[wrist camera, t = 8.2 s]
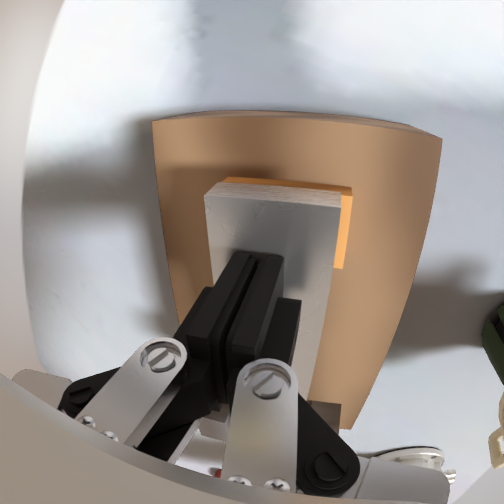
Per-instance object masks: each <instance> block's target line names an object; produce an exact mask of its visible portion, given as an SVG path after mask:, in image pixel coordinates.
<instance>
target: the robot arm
mask: <svg viewBox="0 0 504 504" xmlns="http://www.w3.org/2000/svg"><path fill="white" fill-rule="evenodd" d="M284 264H285V258H283V257H275V256H268V257H267V259H266V260H263V259H261V260H260V262H259V265H258V267H257V259H255V258H252V255H251V254H249V253H241V252H234V253H233V255H232V256H231V258H230V260H229V261H228V263H227V265H226V266H225V268H224V270H223V271H222V273H221V275H220V276H219V278H218V280H217V281H216V283H215V285H214V286H213V287H209V286H206V287H205V288H204V289H203V290H202V292H201V293H200V295H199V296H198V298H197V300H196V301H195V303H194V304H193V306H192V308H191V309H190V311H189V312H188V314H187V316H186V317H185V319H184V320H183V322H182V324H181V325H180V327H179V328H178V330H177V332H176V333H175V335H174V337H173V338H168V337H159V338H155V339H151V340H149V341H147V342H145V343H144V344H143V345H141V346H140V347H139V348H138V349H137V350H136V351H135V353H134V354H133V355H132V356H131V357H130V358H129V359H128V360H127V361H126V362H125V363H124V365H123V366H122V367H119V368H115V369H112V370H109V371H106V372H103V373H100V374H96V375H93V376H90V377H86V378H83V379H80V380H77V381H75V382H73V383H72V381H71V380H70V379H67V378H62V377H58V376H54V375H49V374H45V373H41V372H38V371H33V370H27V369H25V370H22V371H20V372H18V373H17V374H16V375H15V376H14V377H13V378H12V380H11V379H9V378H7V377H6V376H4V375H2V374H0V504H447V501H448V497H449V493H450V485H451V484H453V482H454V480H455V474H456V471H455V470H447V471H442V470H441V466H442V465H443V463H444V453H443V452H442V451H440V450H438V449H434V448H410V449H403V450H397V451H393V452H389V453H385V454H382V455H379V456H377V457H371V458H370V459H368V458H364V457H361V456H357V455H356V454H355V452H354V451H353V450H352V449H351V448H350V447H349V446H348V445H347V444H346V443H345V442H344V441H343V440H342V439H341V438H340V437H339V436H338V434H337V433H336V432H335V431H334V430H333V429H332V428H331V427H330V426H329V425H328V424H327V423H326V422H325V421H324V420H323V419H322V418H321V417H320V416H319V414H318V413H317V412H316V411H315V410H314V409H313V408H312V407H311V406H310V405H309V404H308V403H307V402H306V400H305V399H304V398H303V397H302V396H301V395H300V394H299V393H298V380H297V375H296V373H295V372H294V370H293V369H292V368H291V365H292V361H293V356H294V351H295V346H296V341H297V335H298V329H299V322H300V315H301V306H302V300H299V299H291V298H283V285H284ZM228 403H229V409H230V416H231V418H230V424H229V430H228V436H227V442H226V447H225V453H224V459H223V465H222V471H221V477H220V478H216V477H212V476H209V475H205V474H202V473H199V472H195V471H192V470H189V469H186V468H183V467H180V466H177V465H174V464H175V463H176V461H177V460H178V458H179V457H180V455H181V454H182V452H183V451H184V449H185V448H186V446H187V444H188V443H189V441H190V440H191V438H192V437H193V435H194V434H195V432H196V431H197V429H198V427H199V426H200V424H201V422H202V419H203V417H204V416H207V415H209V414H210V413H211V411H212V410H213V411H217V412H220V409H221V407H222V404H226V405H227V404H228Z"/></svg>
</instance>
